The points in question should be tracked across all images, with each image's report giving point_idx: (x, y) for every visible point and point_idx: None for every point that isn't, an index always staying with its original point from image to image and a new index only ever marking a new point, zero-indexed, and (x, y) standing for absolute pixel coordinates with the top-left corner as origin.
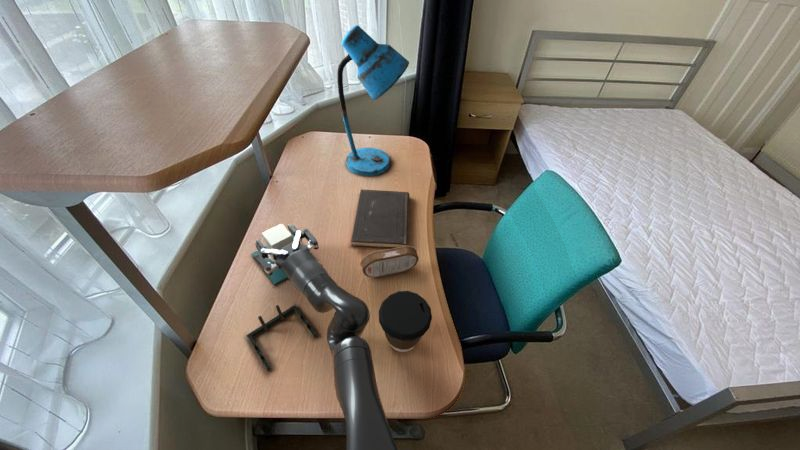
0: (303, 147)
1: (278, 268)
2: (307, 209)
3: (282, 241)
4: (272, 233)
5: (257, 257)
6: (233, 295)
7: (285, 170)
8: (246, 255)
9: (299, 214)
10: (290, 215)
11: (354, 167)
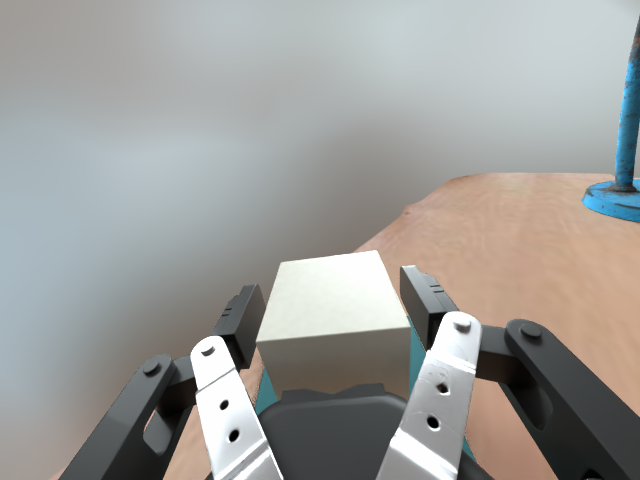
0: (466, 183)
1: None
2: (469, 267)
3: (333, 343)
4: (314, 277)
5: (134, 385)
6: None
7: (427, 202)
8: None
9: (443, 272)
10: None
11: (630, 203)
